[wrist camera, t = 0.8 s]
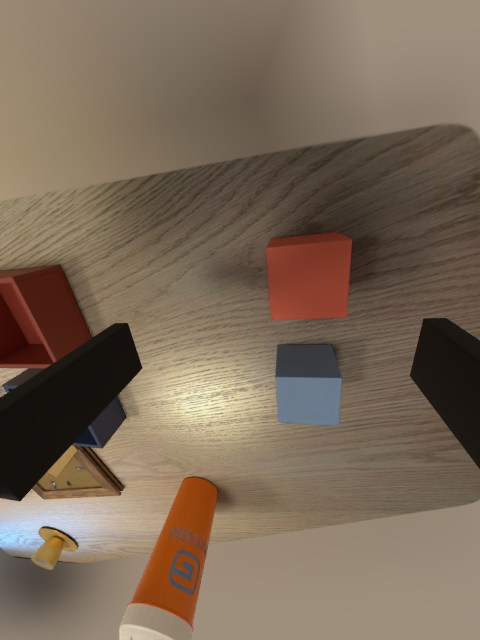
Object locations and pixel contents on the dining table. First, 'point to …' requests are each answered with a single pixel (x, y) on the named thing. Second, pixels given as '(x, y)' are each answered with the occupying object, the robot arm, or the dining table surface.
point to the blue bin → (100, 426)
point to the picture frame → (77, 477)
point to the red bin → (38, 318)
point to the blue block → (308, 384)
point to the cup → (52, 548)
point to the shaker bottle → (174, 569)
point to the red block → (309, 276)
